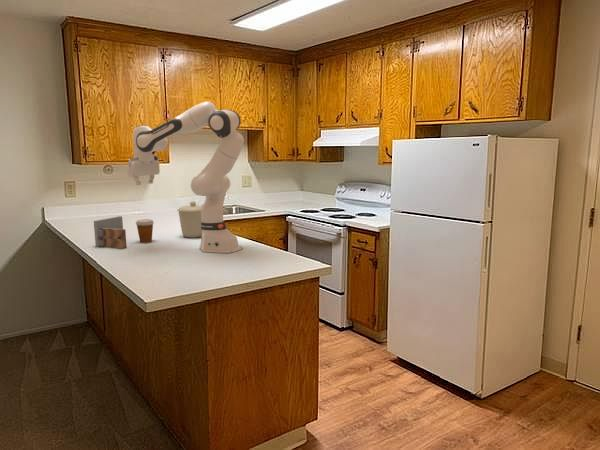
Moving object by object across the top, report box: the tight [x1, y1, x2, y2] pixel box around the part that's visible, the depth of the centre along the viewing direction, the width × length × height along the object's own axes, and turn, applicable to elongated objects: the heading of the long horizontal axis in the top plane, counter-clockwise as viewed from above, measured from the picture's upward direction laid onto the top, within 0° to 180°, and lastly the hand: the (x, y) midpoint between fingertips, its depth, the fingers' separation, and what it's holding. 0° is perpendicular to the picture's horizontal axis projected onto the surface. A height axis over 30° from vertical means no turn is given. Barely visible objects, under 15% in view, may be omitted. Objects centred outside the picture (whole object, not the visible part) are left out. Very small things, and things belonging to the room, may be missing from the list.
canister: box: [177, 200, 202, 239], centre depth 266 cm, size 18×18×21 cm
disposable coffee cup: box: [135, 218, 154, 244], centre depth 252 cm, size 10×10×12 cm
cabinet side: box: [93, 215, 124, 248], centre depth 246 cm, size 5×18×14 cm, turn 157°
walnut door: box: [102, 228, 127, 250], centre depth 237 cm, size 14×4×10 cm, turn 67°
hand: (144, 184), depth 236 cm, fingers open, 8 cm apart
